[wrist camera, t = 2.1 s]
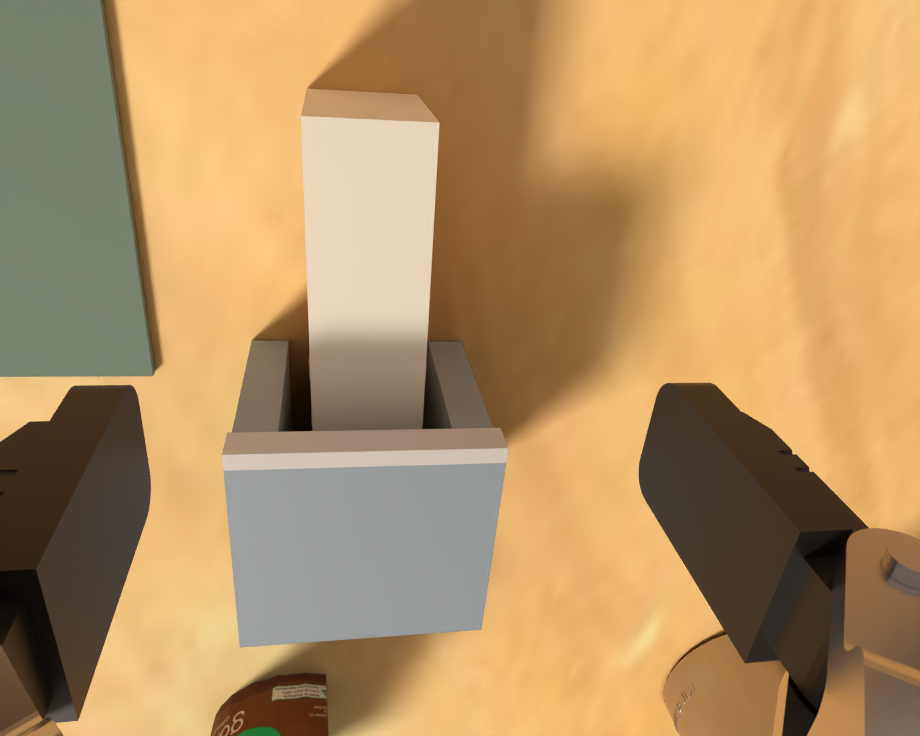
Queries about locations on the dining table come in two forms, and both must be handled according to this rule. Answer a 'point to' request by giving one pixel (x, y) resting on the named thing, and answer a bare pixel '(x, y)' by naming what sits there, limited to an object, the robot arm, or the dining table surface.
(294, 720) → the food container
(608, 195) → the dining table surface
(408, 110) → the tall cream rectangular prism
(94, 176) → the rubber mat
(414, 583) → the dispenser sleeve
